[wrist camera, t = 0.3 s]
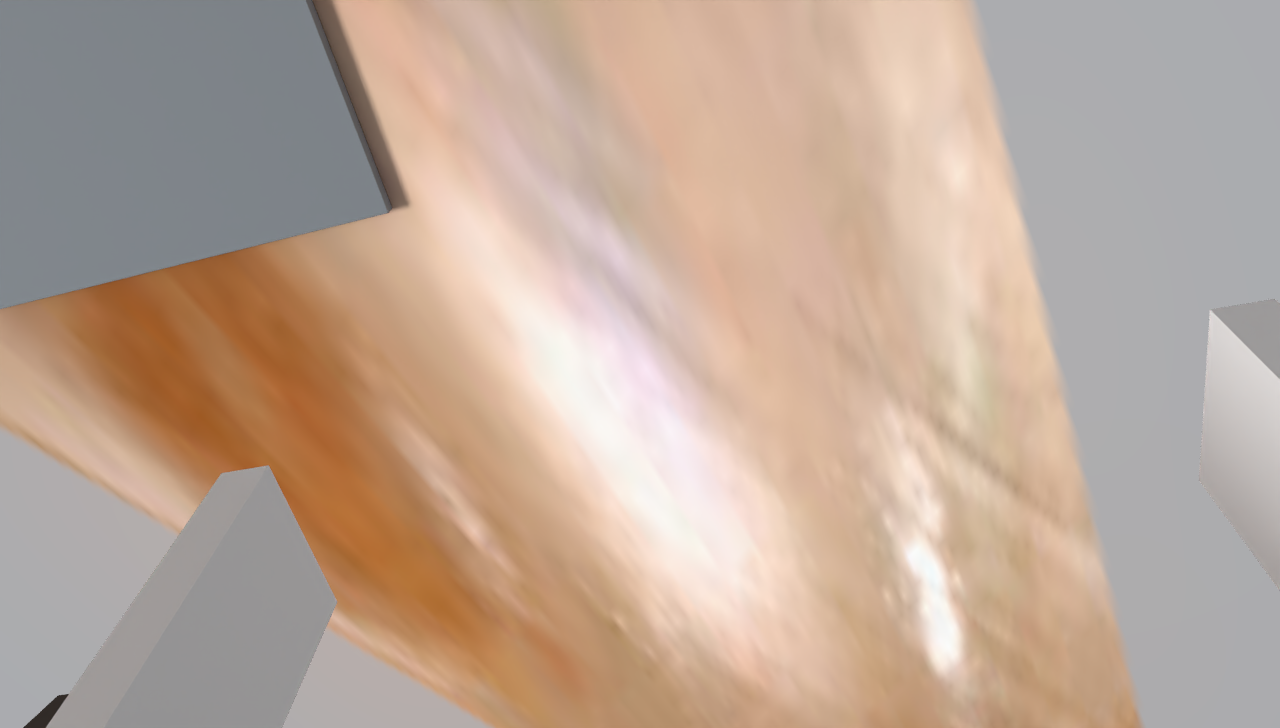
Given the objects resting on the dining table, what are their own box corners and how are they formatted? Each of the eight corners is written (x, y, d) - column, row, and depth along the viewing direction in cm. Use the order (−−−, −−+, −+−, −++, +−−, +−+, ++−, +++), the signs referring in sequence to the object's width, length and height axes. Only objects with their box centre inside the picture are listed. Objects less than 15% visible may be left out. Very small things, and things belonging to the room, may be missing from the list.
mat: (-256, -107, 36) (-270, -106, 36) (210, -264, 33) (202, -266, 33) (-8, 307, 43) (-17, 313, 43) (392, 208, 40) (388, 212, 40)
